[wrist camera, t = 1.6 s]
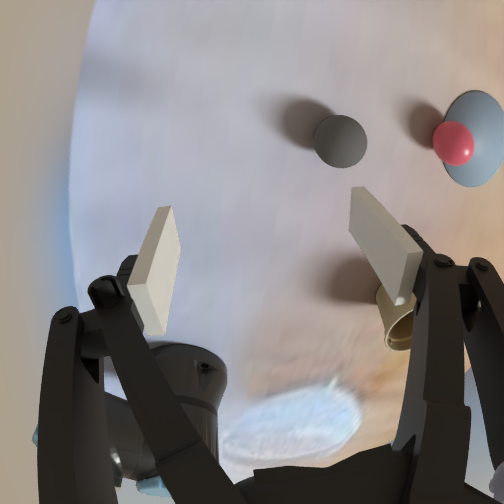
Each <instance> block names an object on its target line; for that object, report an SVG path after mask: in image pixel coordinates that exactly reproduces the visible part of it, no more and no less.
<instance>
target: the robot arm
mask: <svg viewBox="0 0 504 504" xmlns="http://www.w3.org/2000/svg"><path fill="white" fill-rule="evenodd" d="M349 231H350V233H351V234H352V236H353V238H354V239H355V241H356V242H357V244H358V245H359V247H360V249H361V250H362V252H363V253H364V255H365V256H366V258H367V260H368V261H369V263H370V265H371V266H372V268H373V269H374V271H375V273H376V274H377V276H378V278H379V279H380V281H381V283H382V284H383V286H384V288H385V289H386V291H387V293H388V295H389V296H390V298H391V300H392V302H393V303H394V305H395V306H396V305H401V304H406V303H410V299H411V296H412V293H413V294H414V295H415V297H416V298H417V300H416V303H415V306H414V309H413V312H412V315H411V318H412V319H413V317H414V320H413V332H412V342H411V351H410V360H409V367H408V375H407V381H406V388H405V394H404V399H403V405H402V410H401V415H400V420H399V425H398V430H397V434H396V437H395V440H394V443H393V445H392V447H391V444H387V445H383V446H380V447H376V448H372V449H369V450H365V451H361V452H358V453H356V454H354V455H352V456H350V457H348V458H346V459H344V460H342V461H340V462H338V463H336V464H334V465H332V466H329V467H326V468H317V467H299V466H283V467H275V468H266V469H255V470H253V472H254V476H253V477H250V478H247V479H245V480H242V481H240V482H238V483H236V484H235V485H234V484H233V483H232V481H231V480H230V479H229V477H228V476H227V475H226V473H225V472H224V470H223V469H222V467H221V466H220V464H219V448H218V419H217V411H218V407H219V405H220V402H221V399H222V397H223V394H224V391H225V388H226V386H227V368H226V366H225V364H224V362H223V361H222V360H221V359H220V358H219V357H218V356H216V355H215V354H213V353H211V352H209V351H207V350H205V349H202V348H199V347H195V346H190V345H179V344H176V345H165V346H161V347H158V348H155V349H153V350H150V348H149V346H148V344H147V342H146V340H145V338H144V336H143V329H144V328H145V330H146V332H147V335H148V336H155V335H165V332H166V326H167V320H168V314H169V309H170V303H171V298H172V292H173V287H174V282H175V276H176V271H177V266H178V261H179V256H180V252H181V246H180V242H179V238H178V234H177V229H176V225H175V220H174V216H173V211H172V207H171V206H166V207H159V208H157V211H156V213H155V215H154V218H153V220H152V222H151V225H150V227H149V230H148V232H147V235H146V237H145V239H144V242H143V244H142V247H141V249H140V252H139V254H138V255H129V256H128V257H127V258H126V259H125V260H124V261H123V262H122V264H121V266H120V268H119V271H118V273H117V276H112V275H106V276H102V277H99V278H98V279H96V280H94V281H93V282H92V283H91V284H90V285H89V287H88V294H89V297H90V299H91V301H92V303H93V305H94V307H95V309H92V310H90V311H87V312H83V313H79V311H78V309H77V308H76V307H73V306H68V307H64V308H62V309H60V310H59V311H57V312H56V313H55V315H54V316H53V318H52V320H51V325H50V330H49V336H48V341H47V347H46V353H45V360H44V367H43V375H42V383H41V392H40V404H39V418H38V419H39V420H38V425H37V427H36V430H35V432H34V434H33V437H32V441H33V443H34V444H35V445H36V446H37V448H38V449H37V463H38V464H37V466H38V491H39V504H118V500H117V495H116V491H118V490H120V487H121V483H122V478H123V477H124V478H128V479H132V480H135V481H137V482H136V486H137V490H138V491H139V492H141V493H145V494H147V495H152V496H160V497H172V498H173V500H174V502H175V504H504V283H503V282H502V280H501V278H500V276H499V275H498V273H497V271H496V270H495V268H494V266H493V265H492V264H491V263H490V262H489V261H487V260H486V259H484V258H480V257H473V258H472V259H470V262H469V265H468V266H458V265H455V262H454V261H453V260H452V259H451V258H450V257H448V256H446V255H443V254H436V253H435V252H434V251H433V250H432V249H431V247H430V246H429V245H428V244H427V243H426V242H425V241H423V239H422V237H421V236H419V234H418V233H417V232H416V231H415V230H414V229H413V228H411V227H409V226H408V225H406V224H405V225H400V224H399V223H398V222H397V221H396V219H395V218H394V217H393V216H392V215H391V214H390V213H389V212H388V211H387V210H386V209H385V208H384V207H383V205H382V204H381V203H380V202H379V201H378V200H377V199H376V198H375V197H374V196H373V195H372V194H371V193H370V192H369V191H368V190H367V189H366V188H365V187H352V189H351V206H350V221H349ZM480 305H481V307H480ZM464 343H465V346H466V349H467V353H468V356H469V360H470V363H471V367H472V370H473V374H474V378H475V382H476V386H477V390H478V394H479V399H480V404H481V408H482V413H483V418H484V424H485V429H486V435H487V442H488V447H489V452H490V457H491V460H492V464H493V467H494V470H495V474H494V477H493V479H492V480H491V481H490V484H489V490H490V491H491V492H492V493H494V498H491V497H490V496H488V495H486V494H484V493H482V492H481V491H479V490H477V489H475V488H474V487H472V486H470V485H468V484H467V483H465V482H464V480H465V474H466V467H467V460H468V451H469V441H470V429H471V409H470V407H469V406H465V405H464ZM109 355H110V356H111V359H112V362H113V364H114V367H115V370H116V372H117V375H118V378H119V380H120V383H121V385H122V388H123V390H124V393H125V395H126V398H127V400H128V401H127V400H125V399H122V398H120V397H117V396H115V395H112V394H110V393H108V392H105V391H104V364H103V357H106V356H109Z"/></svg>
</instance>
